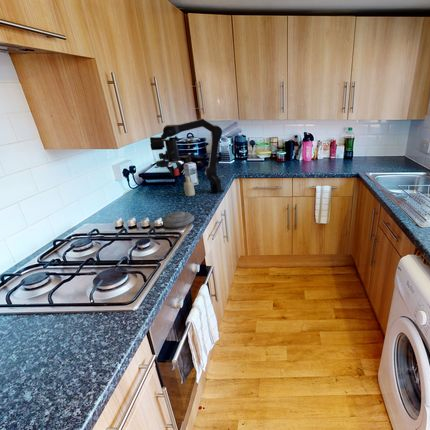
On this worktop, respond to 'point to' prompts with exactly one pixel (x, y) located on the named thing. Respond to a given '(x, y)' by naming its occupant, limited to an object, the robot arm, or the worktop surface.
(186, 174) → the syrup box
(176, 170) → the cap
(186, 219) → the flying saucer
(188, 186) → the bottle
